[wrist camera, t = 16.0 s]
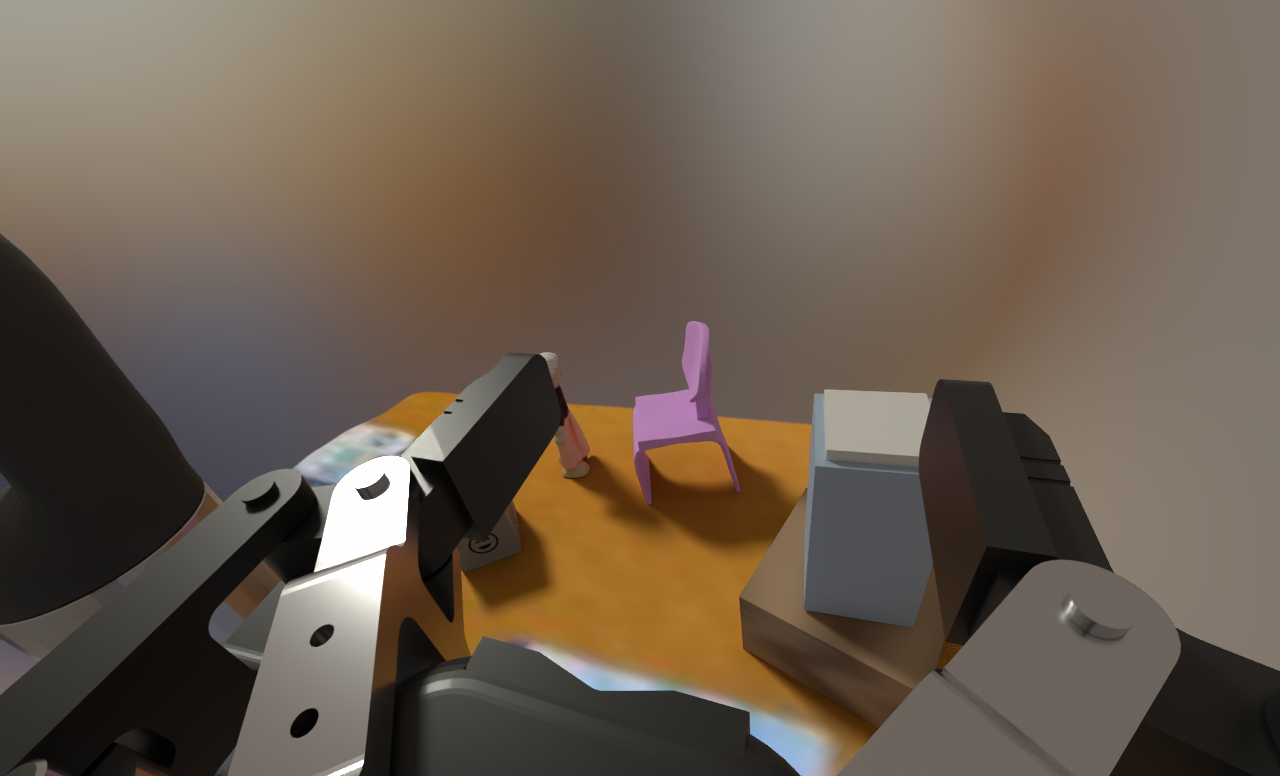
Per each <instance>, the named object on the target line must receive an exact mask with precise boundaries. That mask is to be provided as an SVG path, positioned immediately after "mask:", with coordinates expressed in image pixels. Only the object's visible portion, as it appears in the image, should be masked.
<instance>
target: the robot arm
mask: <svg viewBox="0 0 1280 776" xmlns="http://www.w3.org/2000/svg"><path fill="white" fill-rule="evenodd" d="M560 419H561V410H560V405H559V401H558V398H557V395H556V391H555V388H554V385H553V381H552V378H551V375H550V371H549V368H548V364H547V362H546V360H545V358H544V357H543V356H542V355H540V354H523V353H509V354H507V355H506V356H505V357H504V358H503V359H502V360H501V361H500V362H499V363H498V364H497V365H496V366H495V367H494V369H493V370H492V371H491V372H489V373H487V374H486V375H484V376H482V377H481V378H479V379H478V380H476V381H474V382H473V383H471V384H470V385H469V386H468V387H467V388H466V389H465V390H464V391H463V392H462V393H461V394H460V395H459V396H458V397H457V398H456V402H452V403H451V404H450V405H449V406H448V407H447V409H446V410H445V411H444V414H441V415H440V416H439V417H438V418H437V419H436V420H435V421H434V422H433V423H432V424H431V425H430V426H429V427H428V428H427V429H426V430H425V431H424V432H423V434H422V435H421V436H420V437H419V438H418V439H417V440H416V441H415V442H414V443H413V444H412V445H411V446H410V447H409V448H408V449H407V450H406V451H405V452H404V453H403V454H402V455H401V456H400V457H382V458H378V459H375V460H372V461H369V462H367V463H365V464H363V465H361V466H359V467H357V468H356V469H354V470H353V471H351V472H350V473H349V474H348V475H346V476H345V477H344V478H343V479H342V480H341V481H340V483H339V484H336V485H328V486H320V487H312V488H311V487H310V486H309V485H308V483H307V482H306V481H305V479H304V478H303V477H302V475H301V474H300V473H299V472H298V471H296V470H293V469H281V470H276V471H272V472H269V473H266V474H264V475H262V476H259V477H257V478H255V479H253V480H252V481H250V482H249V483H247V484H245V485H244V486H242V487H241V488H240V489H238V490H237V491H236V492H235V493H234V494H232V495H231V496H230V497H229V498H228V499H227V500H225V501H224V502H222V501H221V500H220V499H219V498H218V497H217V496H216V494H215V493H214V492H213V491H212V490H211V489H210V488H209V487H208V486H207V484H206V483H205V482H204V481H203V480H202V478H201V477H200V476H199V475H198V474H197V473H196V472H195V470H194V469H193V468H192V467H191V466H190V465H189V463H188V462H187V461H186V459H185V458H184V456H183V455H182V453H181V451H180V449H179V448H178V446H177V444H176V443H175V441H174V439H173V437H172V436H171V434H170V432H169V431H168V429H167V427H166V426H165V425H164V424H163V422H162V420H161V419H160V418H159V416H158V415H157V414H156V413H155V411H154V410H153V409H152V408H151V406H150V405H149V404H148V403H147V402H146V400H145V399H144V398H143V397H142V396H141V394H140V393H139V392H138V391H137V390H136V389H135V387H134V386H133V385H132V383H131V382H130V381H129V380H128V378H126V376H125V375H124V373H123V372H122V371H121V370H120V368H119V367H118V366H117V365H116V363H115V362H114V361H113V359H112V358H111V357H110V355H109V354H108V353H107V351H106V350H105V349H104V348H103V346H102V345H101V344H100V342H99V341H98V340H97V339H96V337H95V336H94V334H93V333H92V332H91V330H90V329H89V328H88V327H87V325H86V324H85V322H84V321H83V320H82V319H81V318H80V316H79V315H78V313H77V312H76V311H75V309H74V308H73V307H72V306H71V305H70V303H69V302H68V301H67V300H66V298H65V297H64V296H63V295H62V294H61V292H60V291H59V290H58V289H57V287H56V286H55V285H54V284H53V283H52V282H51V281H50V279H49V278H48V277H47V276H46V275H45V274H44V273H43V272H42V271H41V270H40V269H39V268H38V267H37V266H36V265H35V264H34V263H33V262H32V261H31V260H30V259H29V258H28V257H27V256H26V255H25V254H24V253H23V252H22V251H20V250H19V249H18V248H17V247H16V246H14V245H13V244H12V243H11V242H10V241H9V240H7V239H6V238H5V237H4V236H3V235H1V234H0V473H1V474H2V475H3V476H4V477H5V478H6V480H7V481H8V482H9V484H10V485H8V486H7V487H5V488H4V489H3V490H1V491H0V639H1V640H3V641H5V642H6V643H8V644H10V645H11V646H13V647H15V648H16V649H17V650H19V651H21V652H22V653H24V654H26V655H27V656H29V657H30V658H32V659H34V660H36V661H38V663H37V664H36V665H35V666H34V667H33V668H31V669H30V670H29V671H28V672H27V673H25V674H24V675H23V676H22V677H21V678H20V679H18V680H17V681H16V682H15V683H14V684H13V685H12V686H10V687H9V688H8V689H7V690H6V691H5V692H4V693H3V694H1V695H0V776H214V775H215V773H218V774H220V775H222V776H800V775H799V774H798V773H797V772H796V770H795V769H794V768H793V767H792V766H791V765H790V764H789V763H788V762H787V761H786V760H785V759H784V758H782V757H781V756H780V755H779V754H777V753H776V752H775V751H774V750H773V749H771V748H770V747H769V746H768V745H766V744H765V743H763V742H762V741H760V740H759V739H757V738H755V737H754V736H752V735H751V734H750V714H749V712H748V711H744V710H740V709H737V708H733V707H730V706H726V705H723V704H719V703H716V702H712V701H709V700H705V699H702V698H698V697H695V696H691V695H688V694H684V693H681V692H677V691H599V690H596V689H593V688H591V687H590V686H588V685H587V684H585V683H584V682H582V681H581V680H579V679H578V678H576V677H575V676H573V675H572V674H571V673H569V672H568V671H566V670H565V669H563V668H562V667H560V666H559V665H557V664H556V663H554V662H553V661H552V660H550V659H549V658H547V657H546V656H544V655H543V654H541V653H540V652H537V651H533V650H530V649H526V648H523V647H519V646H516V645H512V644H509V643H505V642H502V641H498V640H495V639H491V638H487V637H484V636H483V637H482V639H481V641H480V643H479V645H478V646H477V648H476V650H475V652H474V653H473V655H472V656H471V654H470V651H469V649H468V646H467V643H466V639H465V633H464V620H463V600H462V579H461V559H460V553H459V551H458V549H457V548H456V547H457V545H458V544H459V542H460V541H461V540H462V538H467V539H472V540H476V541H481V542H485V541H486V539H487V538H488V536H489V535H490V533H491V531H492V530H493V528H494V527H495V525H496V524H497V522H498V521H499V519H500V518H501V516H502V515H503V513H504V512H505V510H506V509H507V507H508V506H509V504H510V503H511V501H512V499H513V498H514V496H515V495H516V493H517V492H518V490H519V489H520V487H521V486H522V484H523V483H524V481H525V480H526V478H527V477H528V475H529V474H530V472H531V470H532V469H533V467H534V466H535V464H536V463H537V461H538V460H539V458H540V457H541V455H542V454H543V452H544V451H545V449H546V448H547V446H548V445H549V443H550V441H551V440H552V438H553V437H554V435H555V434H556V432H557V430H558V428H559V424H560ZM1060 462H1061V460H1060V458H1059V456H1058V454H1057V451H1056V449H1055V447H1054V445H1053V443H1052V441H1051V439H1050V437H1049V435H1048V434H1046V433H1045V432H1044V431H1043V430H1042V429H1041V428H1040V427H1039V426H1038V425H1036V424H1035V423H1034V422H1033V421H1032V420H1031V419H1029V417H1027V416H1026V415H1025V414H1019V413H1006V412H1002V410H1001V407H1000V404H999V402H998V399H997V396H996V394H995V391H994V389H993V387H992V385H991V383H989V382H977V381H961V380H944V379H940V380H939V381H938V382H937V384H936V387H935V390H934V394H933V398H932V401H931V405H930V409H929V413H928V417H927V421H926V425H925V428H924V432H923V436H922V440H921V444H920V451H919V478H920V485H921V491H922V497H923V503H924V510H925V516H926V522H927V529H928V535H929V541H930V547H931V554H932V560H933V566H934V572H935V579H936V585H937V591H938V597H939V604H940V610H941V616H942V623H943V629H944V635H945V641H946V642H951V643H956V644H960V645H964V646H963V647H962V648H961V649H960V650H959V652H958V653H957V654H956V655H955V656H954V657H953V658H952V660H951V661H950V662H949V663H948V664H947V665H946V666H945V667H944V668H942V669H941V670H939V669H938V668H937V669H934V670H933V671H932V672H930V673H929V674H928V675H927V676H926V677H925V678H924V679H923V680H922V681H921V682H920V683H919V684H918V685H917V686H916V687H915V688H914V690H913V691H912V692H911V693H910V694H909V695H908V696H907V697H906V699H905V700H904V701H903V702H902V703H901V704H900V705H899V706H898V708H897V709H896V710H895V711H894V712H893V713H892V714H891V715H890V717H889V718H888V719H887V720H886V721H885V722H884V723H883V724H882V726H881V727H880V728H879V729H878V730H877V731H876V732H875V733H874V735H873V736H872V737H871V738H870V739H869V740H868V741H867V742H866V744H865V745H864V746H863V747H862V748H861V749H860V750H859V751H858V753H857V754H856V755H855V756H854V757H853V758H852V759H851V760H850V762H849V763H848V764H847V765H846V766H845V767H844V768H843V769H842V770H841V772H840V773H839V774H838V775H837V776H1280V671H1278V670H1275V669H1273V668H1270V667H1268V666H1265V665H1263V664H1260V663H1257V662H1255V661H1253V660H1250V659H1247V658H1245V657H1242V656H1240V655H1237V654H1234V653H1232V652H1230V651H1227V650H1224V649H1222V648H1220V647H1217V646H1214V645H1212V644H1209V643H1207V642H1205V641H1202V640H1200V639H1198V638H1195V637H1193V636H1191V635H1189V634H1187V633H1185V632H1183V631H1181V630H1179V629H1177V628H1175V626H1174V624H1173V622H1172V621H1171V619H1170V618H1169V616H1168V615H1167V613H1166V612H1165V611H1164V610H1163V609H1162V608H1161V607H1160V606H1159V604H1158V603H1157V602H1156V601H1154V600H1153V599H1152V598H1151V597H1150V596H1149V595H1148V594H1147V593H1145V592H1144V591H1143V590H1141V589H1140V588H1139V587H1137V586H1136V585H1134V584H1133V583H1131V582H1129V581H1128V580H1126V579H1124V578H1123V577H1121V576H1119V575H1117V574H1115V573H1114V572H1113V570H1112V568H1111V567H1110V564H1109V562H1108V560H1107V558H1106V556H1105V553H1104V551H1103V549H1102V547H1101V545H1100V543H1099V541H1098V539H1097V536H1096V534H1095V532H1094V530H1093V528H1092V526H1091V524H1090V521H1089V519H1088V517H1087V515H1086V513H1085V511H1084V509H1083V507H1082V504H1081V502H1080V500H1079V498H1078V496H1077V494H1076V492H1075V490H1074V487H1071V486H1070V482H1071V481H1070V479H1069V477H1068V475H1067V473H1066V470H1065V468H1064V466H1063V465H1060Z"/></svg>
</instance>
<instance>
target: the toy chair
mask: <svg viewBox="0 0 1280 776" xmlns="http://www.w3.org/2000/svg"><path fill="white" fill-rule="evenodd" d="M708 347H709V329H708V327H707V325H706V324H704V323H701V322H696V321H691V322H689V323H688V324H687V327H686V340H685V349H684V354H683V359H682V367H683V370H684V373H685V377H686V380H687V383H688V385H689V389H688V390H683V391H678V392H672V393H666V394H656V395H647V396H640V397H636V407H635V408H634V411H633V443H634V465H635V470H636V473H637V476H638V479H639V482H640V485H641V488H642V490H643V493H644V496H645V498H646V501H647V503H648V505H651V504H652V496H651V482H650V469H649V458H648V456H647V455H646V453H645V452H644V451H646V450H649V449H654V448H659V447H663V446H667V445H672V444H678V443H688V442H702V441H713V442H717V443H718V444H719V445H720V446H721V448H722V450H723V453H724V456H725V459H726V462H727V465H728V468H729V471H730V474H731V476H732V479H733V482H734V485H735V488H736V491H737V492H741V490H740V486H739V483H738V479H737V476H736V472H735V469H734V465H733V462H732V458H731V454H730V451H729V447H728V445H727V443H726V440H725V438H724V436H723V434H722V431H721V428H720V425H719V422H718V418H717V415H716V412H715V408H714V405H713V403H712V400H711V399H710V396H711V380H712V362H711V359H710V355H709V353H708Z"/></svg>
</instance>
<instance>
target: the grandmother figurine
mask: <svg viewBox="0 0 1280 776" xmlns="http://www.w3.org/2000/svg"><path fill="white" fill-rule="evenodd" d="M540 355H542V356H543V357H544V358H545V360H546V362H547V364H548V368H549V371H550V375H551V378H552V381H553V385H554V388H555V391H556V395H557V398H558V401H559V405H560V410H561V419H560V424H559V428H558V430H557V432H556V434H555V435H554V437H555V443H556V444H557V446H558V449H559V454H560V456H559V462H560V463H561V464H562V466H563V467H564V468H563V471H562V475H563V476H564V477H566V478H578V477H583V476H585V475H587V474H588V472H589V469H590V467H589V465H588V464H587V463H586V462H584V461H582V458H584V457H585V456H586V455H588V453H589V450H590V448H589V445H588V443H587V440H586V438H585V436H584V434H583V432H582V430H581V428H580V426H579V425H578V423H577V421H576V420H575V418H574V416H573V415H572V413H571V412H570V410H569V409H568V406H567V404H566V401H565V399H564V396H563V393H562V390H561V387H560V386H559V385H560V383H561V381H562V372H561V370H560V368H559V367H558V366H557V362H558V359H557V356H556V354H554V353H541V354H540Z"/></svg>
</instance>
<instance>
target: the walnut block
mask: <svg viewBox="0 0 1280 776" xmlns="http://www.w3.org/2000/svg"><path fill="white" fill-rule="evenodd" d="M807 490H808V488H806V489H805V491H804V493H803V494H802V496H801V498H800V499H799V501H798V502H797V504H796V506H795V507H794V509H793V510H792V512H791V514H790V515H789V517H788V519H787V520H786V522H785V523H784V525H783V527H782V528H781V530H780V531H779V533H778V535H777V536H776V538H775V540H774V541H773V543H772V544H771V546H770V548H769V549H768V551H767V553H766V554H765V556H764V557H763V559H762V561H761V562H760V564H759V565H758V567H757V569H756V570H755V572H754V574H753V575H752V577H751V578H750V580H749V582H748V583H747V585H746V586H745V588H744V590H743V591H742V593H741V595H740V596H739V600H740V613H741V626H742V638H743V649H745V650H747V651H748V652H750V653H752V654H753V655H755V656H757V657H758V658H760V659H762V660H763V661H765V662H767V663H768V664H770V665H772V666H773V667H775V668H777V669H778V670H780V671H782V672H784V673H785V674H787V675H789V676H790V677H792V678H794V679H795V680H797V681H799V682H800V683H802V684H804V685H805V686H807V687H809V688H810V689H812V690H814V691H815V692H817V693H819V694H820V695H822V696H824V697H825V698H827V699H829V700H830V701H832V702H834V703H835V704H837V705H839V706H841V707H842V708H844V709H846V710H847V711H849V712H851V713H852V714H854V715H856V716H857V717H859V718H861V719H862V720H864V721H866V722H867V723H869V724H871V725H872V726H874V727H876V728H877V729H879V728H880V727H881V726H882V724H883V723H884V722H885V721H886V720H887V719H888V718H889V717H890V715H891V714H892V713H893V712H894V711H895V710H896V709H897V708H898V706H899V705H900V704H901V703H902V702H903V701H904V700H905V699H906V697H907V696H908V695H909V694H910V693H911V692H912V691H913V690H914V688H915V687H916V686H917V685H918V684H919V683H920V682H921V681H922V680H923V679H924V678H925V677H926V676H927V675H928V674H929V673H930V672H932V671H933V670H934V669H937V666H938V663H939V659H940V655H941V652H942V648H943V644H944V641H945V635H944V629H943V623H942V616H941V610H940V604H939V597H938V591H937V585H936V579H935V572H934V566H933V565H932V568H931V571H930V575H929V578H928V581H927V584H926V588H925V591H924V594H923V598H922V601H921V604H920V607H919V611H918V614H917V617H916V621H915V624H914V627H913V628H910V627H904V626H898V625H892V624H886V623H880V622H874V621H868V620H862V619H856V618H850V617H844V616H838V615H832V614H826V613H820V612H814V611H808V610H804V536H805V518H806V504H807Z"/></svg>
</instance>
